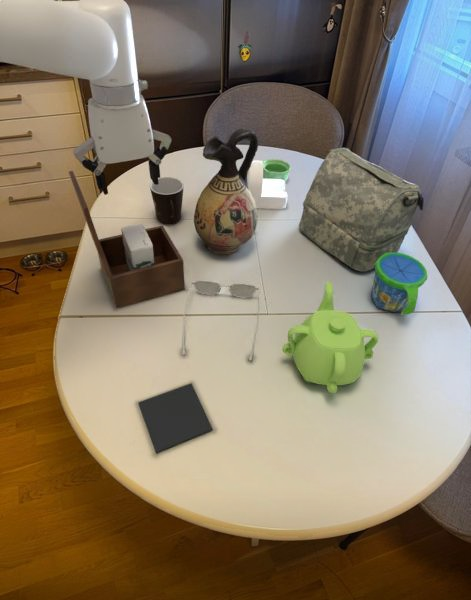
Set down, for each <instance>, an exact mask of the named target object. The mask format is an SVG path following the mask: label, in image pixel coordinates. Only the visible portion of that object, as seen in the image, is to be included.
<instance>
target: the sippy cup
mask: <svg viewBox="0 0 471 600" xmlns="http://www.w3.org/2000/svg"><path fill="white" fill-rule="evenodd" d="M374 270H375V274H374V279H373V284H372V290H371V300H372V301H373V303H374V304H375V305H376V307H377V308H378V309H382V310H385V311H388V312H392V313H395V312H397V311H400V310H401V312H400V314H401V315H403V316H405V315H407V316H408V315H411V314H413V313H414V312H415V309H416V305H417V301H418V296H419V288H421V287H422V286H423V285H424V284H425V282H426V281H427V280H428V270H427V269H426V267H425V265H424V264H423V263H422V262H421V261H419V259H417V258H415V257H413V256H411V255H409V254H405V253H402V252H397V253H383V254H382V255H381V256H380V258H379V259H378V261H376V263H375V268H374Z"/></svg>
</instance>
